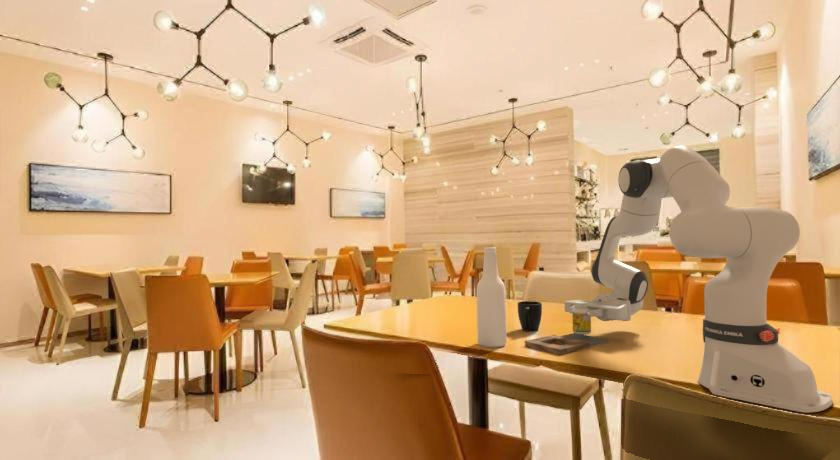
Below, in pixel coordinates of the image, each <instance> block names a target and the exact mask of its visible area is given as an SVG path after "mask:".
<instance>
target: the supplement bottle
mask: <svg viewBox="0 0 840 460" xmlns="http://www.w3.org/2000/svg"><path fill="white" fill-rule="evenodd" d="M574 306H575V308H574V309H573V311H572V313H571V314H572V332H573V333H575V334H581V335H590V334H591V333H592V321H591V320H592V319H591V318H592V317H591V316H587V311H588V310H589V309H587V307H588V302H582V301H578V302H574Z"/></svg>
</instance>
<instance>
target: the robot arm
mask: <svg viewBox="0 0 840 460" xmlns="http://www.w3.org/2000/svg"><path fill="white" fill-rule="evenodd" d="M618 173H619V174H618V178H617V179H618V186H619V190H620V191H621V193H622V194H623V195H622V200H621V204H620V210H619V212H618V214H617V215H614V216H613V217H612V218H611V219H610V220H609V222H608V223H607V226H606V228H605V232H604V234H603V236H602V240H601V243H600V246H599V249H598V252H597V256H596V257H595V259H594V261H593V263H592V266H591V269H590V273H591V276H592V280H593V281H594V282H595V283H596V284H600V285H602V286H604V287H607V288H609V289H611V290H612V291H611V292H606V293H601V294H597V295H595V296H594V298H593V299H592V300H585V299H571V300H565V301H564V305H563V307H564V311H565V312H566V313H569V314H572V311H573V309H574V308H575V306H574V302H578V301H582V302H588V307H587V309H589V310H588V311H587V316H591V318H592V317H595V318H596V319H598V320H600V321H601V322H602V321H603V322H609V321H611V322H613V321H621V322H622V321H623V322H625V321H626V322H628V321H631V319H632V316H633V315H635V314H637V313H638V312H639V311H641V310H642V307H643V306H644V298H645V296H646V294H647V292H648V288H649V283H648V278H647V274H646V273H645V272H644V271H643V270H641V269H638V268H636V267H634V266H631V265H629V264H627V263H624V262H622V261H619V260H618V259H617V258H616V257H615V256H616V255H615V254H616V252H617V248H618V246H619V242H620V240H621V238H622V237H639V236H640V237H641V236H643V235H646V234H648V233H651V232H652V231H653V230H654V229H655V228H656V227H657V225H658V222H659V219H660V213H661V208H662V199H663V198H664V199H665V198H667V199H668V198H673V200H674V201H675V203H676V204H677V206H678V207H679V210H680V213H678V214H677V215H676V216H675V218H673V220H672V222H671V224H670V226H669V227H670V228H669V239H670V241H671V242H670V243H671V244H672V246H673V247H674V249H675V250H676V251H677V252H678V253H679V254H681V255H684V256H687V257H688V256H689V257H694V258H700V259H726V262H725V265H724V267H723V268H722V270H721V271H720V272H719V273H718V274H717V275H715V276H713V277H711V278H710V279H709V280H707V282H706V284H705V286H704V288H703V289H704V318H703V319H702V338H703V339H702V340H703V343H704V350H703V359H702V364H701V369H700V372H699V375H698V379H697V381H698V383H699V384H700V385H701V386H703V387H705V388H707V389H709V391H710V393H712V394H713V395H715V396H719V397H724V398H729V399H734V400H741V401H744V402H749V403H753V404H760V405H764V406H769V407H774V408H777V409H784V410H789V411H794V412H797V413H808V414H809V413H817V412H821V411H825V410H826V409H829V408H830V407H831V406H832V404H833V398H832V396H831V394H830V393H828V392H826V391H824V390H819V389H818V386H817V381H816V377H815V374H814V372H813V369H812V368H811V367H810V366H809V364H807V363H806V362H804V361H803V360H801V359H800V358H799V357H797V356H796V355H795V354H793V353H792V352H790V350H788V349H787V348H785V347H784V346H783V345H781V344H780V343H779V334H781V332H780V331H781V328H780V327H778V328H775V327H773V326H772V325H770V324H769V323H768V322H767V302H768V301H767V295H768V288H769V287H768V286H769V283H770V280H771V276H772V275H773V272H774V270H775V268H776V266H777V265H778V263H779V262H780V260H781V259H782V258H783V257H785V255H787V254H788V253H789V252H790V251H792V250H793V249H794V248H795V247H796V245H797V243H798V242H799V239H800V235H801V234H800V231H801V230H800V225H799V223H798V220H797V219H796V217H795V216H794V215H793V214H792V213H790V212H789V211H787V210H782V209H777V208H771V207H766V206H750V207H749V206H744V207H740V206H739V207H733V206H727V205H726V204H727V203H728V201H729V199H730V195H731V194H730V193H731V191H730V185H729V183H728V182H727V181H726V180H725V179H724V178H723V176H722V175H721V174H720V173H719V172H718V170H717V169H716V168H715V167H714V166H713V165H712V164H711V163H710V162H709V161H708V160H707V159H706V158H705V157H704V156H702V154H700V153H699V152H697V151H696V150H695V149H693V148H691V147H689V146H685V145H679V146H678V145H677V146H674V147H671V148H670V149H667V150H666V151H665V152H663V154H662V155H661V156H660V157H659V158H650V159H649V158H648V159H643V160H640V159H637V160H633V161H629V162H626V163H625V164H624V165H623V166H622V167H621V168H620V170H619V172H618Z"/></svg>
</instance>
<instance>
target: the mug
mask: <svg viewBox="0 0 840 460" xmlns="http://www.w3.org/2000/svg"><path fill="white" fill-rule="evenodd" d="M542 306H543V305H542V302H540V301H535V300H523V301H518V302H517V314H518V320H519V324H520V326H521V330H522V331H524V332H531V333H532V332H538V331H539V329H540V324H541V321H542V315H543V313H542V312H543V307H542Z"/></svg>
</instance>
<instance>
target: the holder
mask: <svg viewBox="0 0 840 460" xmlns="http://www.w3.org/2000/svg"><path fill="white" fill-rule="evenodd" d="M561 336H562V335H556V334H552V335H547V336H542V337H541V336H540V337H538V338H533V339H529V340H525V341H524V346H525V347H528V348H531V349H535V350H539V351H542V352H543V351H544V352H547V353H550V354H555V355H558V356H562V355H566V354H569V353H573V352H578V351H583V350H586V349H589V348H590V347H589V342H584V341H579V340H575V339H570V338H566V337H561ZM556 344H558V345H556Z"/></svg>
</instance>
